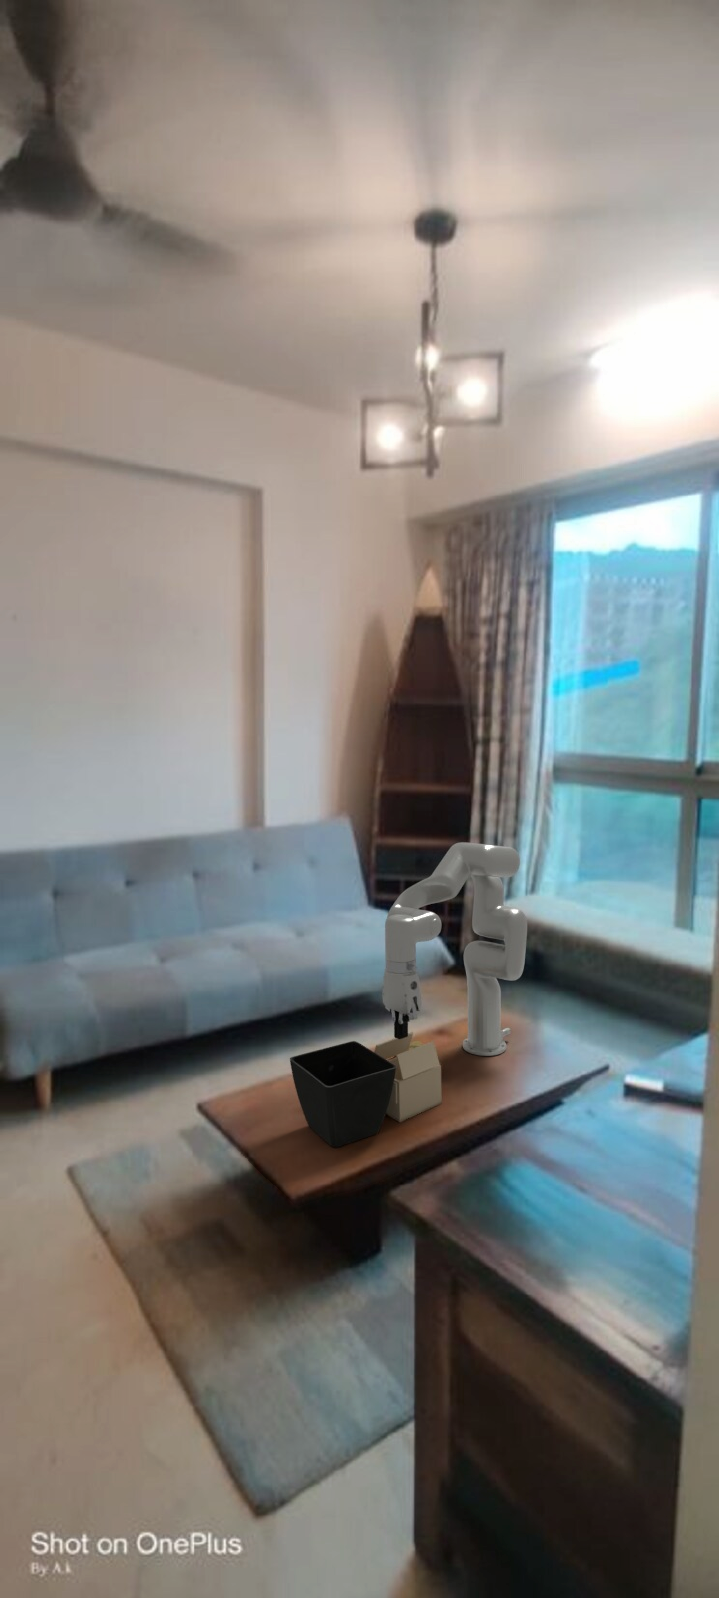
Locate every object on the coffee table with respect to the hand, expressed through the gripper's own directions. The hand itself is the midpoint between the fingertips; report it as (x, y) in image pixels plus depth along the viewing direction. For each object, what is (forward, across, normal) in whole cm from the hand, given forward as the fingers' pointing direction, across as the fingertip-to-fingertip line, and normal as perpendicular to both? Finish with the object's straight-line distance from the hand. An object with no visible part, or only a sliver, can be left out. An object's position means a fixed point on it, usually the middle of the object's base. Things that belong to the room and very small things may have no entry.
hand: (401, 1037), depth 197 cm
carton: (+18, +13, -18) cm, 28 cm away
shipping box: (+18, -1, -1) cm, 18 cm away
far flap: (+4, +4, -1) cm, 6 cm away
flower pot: (+18, 0, +18) cm, 26 cm away
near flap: (+4, -5, -1) cm, 7 cm away
